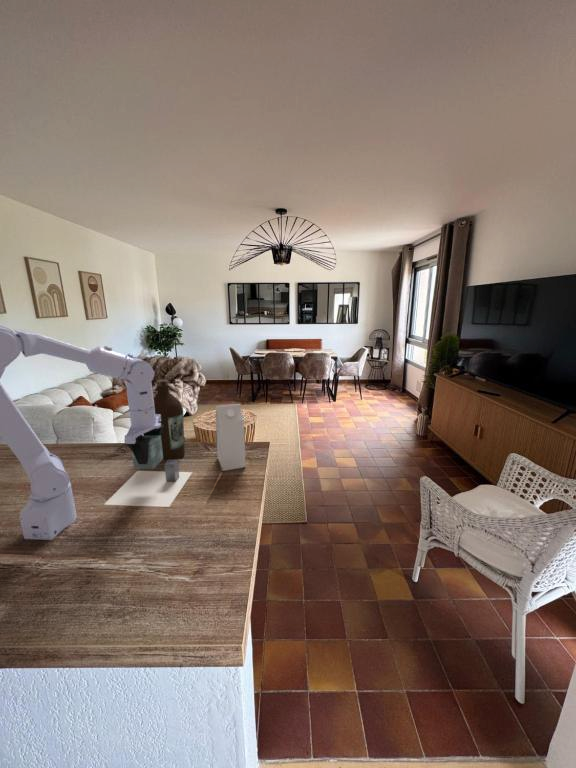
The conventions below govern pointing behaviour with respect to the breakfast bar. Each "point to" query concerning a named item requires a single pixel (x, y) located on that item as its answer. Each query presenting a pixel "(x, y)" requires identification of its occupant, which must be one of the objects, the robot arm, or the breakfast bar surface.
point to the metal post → (171, 470)
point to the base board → (149, 490)
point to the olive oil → (170, 422)
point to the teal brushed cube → (151, 453)
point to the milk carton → (230, 436)
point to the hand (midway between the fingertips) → (148, 458)
